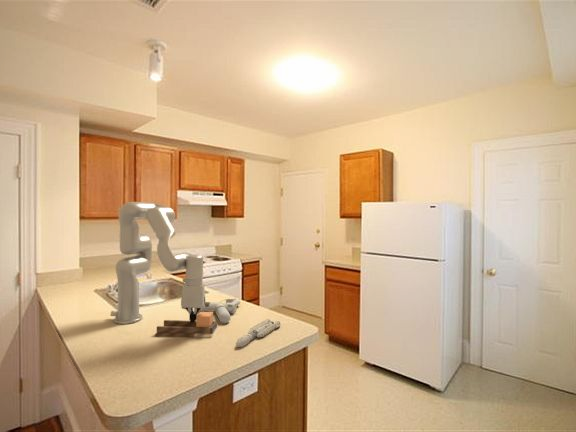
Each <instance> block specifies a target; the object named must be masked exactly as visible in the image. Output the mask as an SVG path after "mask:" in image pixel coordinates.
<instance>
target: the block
mask: <svg viewBox="0 0 576 432" xmlns="http://www.w3.org/2000/svg"><path fill="white" fill-rule="evenodd" d="M213 321H214V313H213V312H201V311H200V312H198V313H197V316H196V327H211V326H212V325H213Z"/></svg>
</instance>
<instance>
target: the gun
mask: <svg viewBox="0 0 576 432" xmlns="http://www.w3.org/2000/svg"><path fill="white" fill-rule="evenodd" d="M224 301H225V302H224ZM239 305H241V299H240V298H227V299H226V298H225V299H223V300H221V301H219V302H213V301H211V302H210V301H205V309H204V310H199V311H200V312H213V314H214V313H215V314H216V317H217V319H218V320H219V322H220V323H221V324H227V323H230V321H231V318H232V317H231V315H236V313H237V309H238V308H237V307H238V306H239ZM199 311H198V312H199Z"/></svg>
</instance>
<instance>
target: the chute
mask: <svg viewBox="0 0 576 432" xmlns="http://www.w3.org/2000/svg"><path fill="white" fill-rule="evenodd" d="M218 327H219V326H218V321H217V320H213V325H212V326H211V327H196V321H195V322H194V323H193V322H192V323H190V320H182V319H181V320H178V319H177V320H176V319H174V320H173V319H172V320H171V319H164V320H163V325H160V326H159V325H158V326H156V333H155V334H154V337H166V338H167V337H169V338H171V337H172V338H212V337H213V335H214V334H215V333H216V331H217V329H218Z"/></svg>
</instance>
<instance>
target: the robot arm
mask: <svg viewBox="0 0 576 432" xmlns="http://www.w3.org/2000/svg"><path fill="white" fill-rule="evenodd" d="M146 219H147V222H148V224H149V225H150V227H151V229H152V231H153V232H154V233H153V234H155V236H156V238H157V244H156V245H157V246H156V250H157V252H156V253H157V256H158V259H159V261H160V263H161V265H162V266H163V268H164V269H166V270H167V271H168V272H177V271H181V270H185V278H183V279H182V283H184V284H183V286H182V291H181V292H182V293H181V297H180V298H181V299H180V308H181V309H182V310H186V311H187V312H188V316H189V318H188V319H189V320H188V321H190V323H192V322H193V323H194V322H195V321H196V316H197V315H198V313H199V310H204V309H205V302H206V289H205V284H203V283H204V282H203V278H204V257H203V255H200V254H192V253H190V252H181V253H173V252H172V250H171V247H170V241H171V239H172V238H174V237H175V236H176V230H175V228H174V226H173V224H172V223H173V222H174V221H175V220H176V213H175V211H174V209H172V208H171V207H170V206H166V205H163V204H159V203H156V202H150V201H148V202H146V201H128V202H126V203H124V204H122V205H121V206H120V208H119V210H118V222H119V251H120V253H121V254H122V255H126V257H123V258H121V259H119V260H118V261H117V262H116V264H115V274H116V277H117V310H112V311H110V317H115V318H114V319H113V322H114V324H118V325H129V324H133V323H137V322H139V321H141V320H142V319H143V315H142V313H141V314H140V283H139V280H138V278H137V277H136V276H137V275H141V274H145V273H147V272H149V271H150V269H151V267H152V261H153V260H152V259H153V256H152V255H153V244H152V240H151V238H150V237H149V236H148V235H146V234H140V228H139V227H140V226H139V224H138V222H137V220H146ZM135 254H136V255H135ZM128 255H132V256H128ZM133 255H134V256H133Z"/></svg>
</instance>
